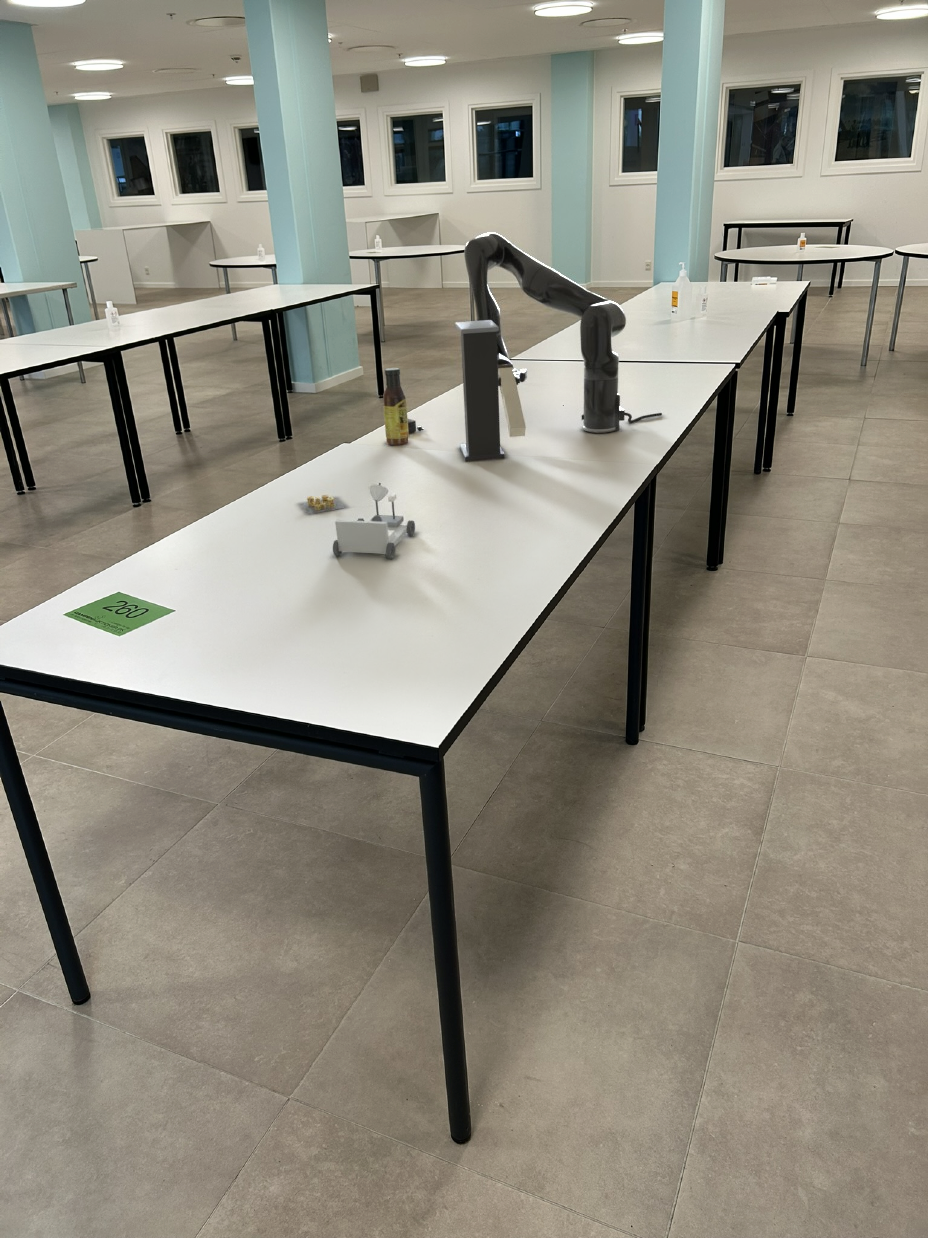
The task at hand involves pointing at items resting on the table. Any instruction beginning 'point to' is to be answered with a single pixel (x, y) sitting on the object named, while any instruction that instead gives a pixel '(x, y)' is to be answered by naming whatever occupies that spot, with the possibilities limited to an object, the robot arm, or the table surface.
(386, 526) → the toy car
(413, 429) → the wireless earbuds
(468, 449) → the dark grey pillar
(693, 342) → the table surface
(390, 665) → the table surface
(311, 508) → the dice set
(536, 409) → the table surface
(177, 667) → the table surface
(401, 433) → the sauce bottle
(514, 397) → the cream rectangular bar
